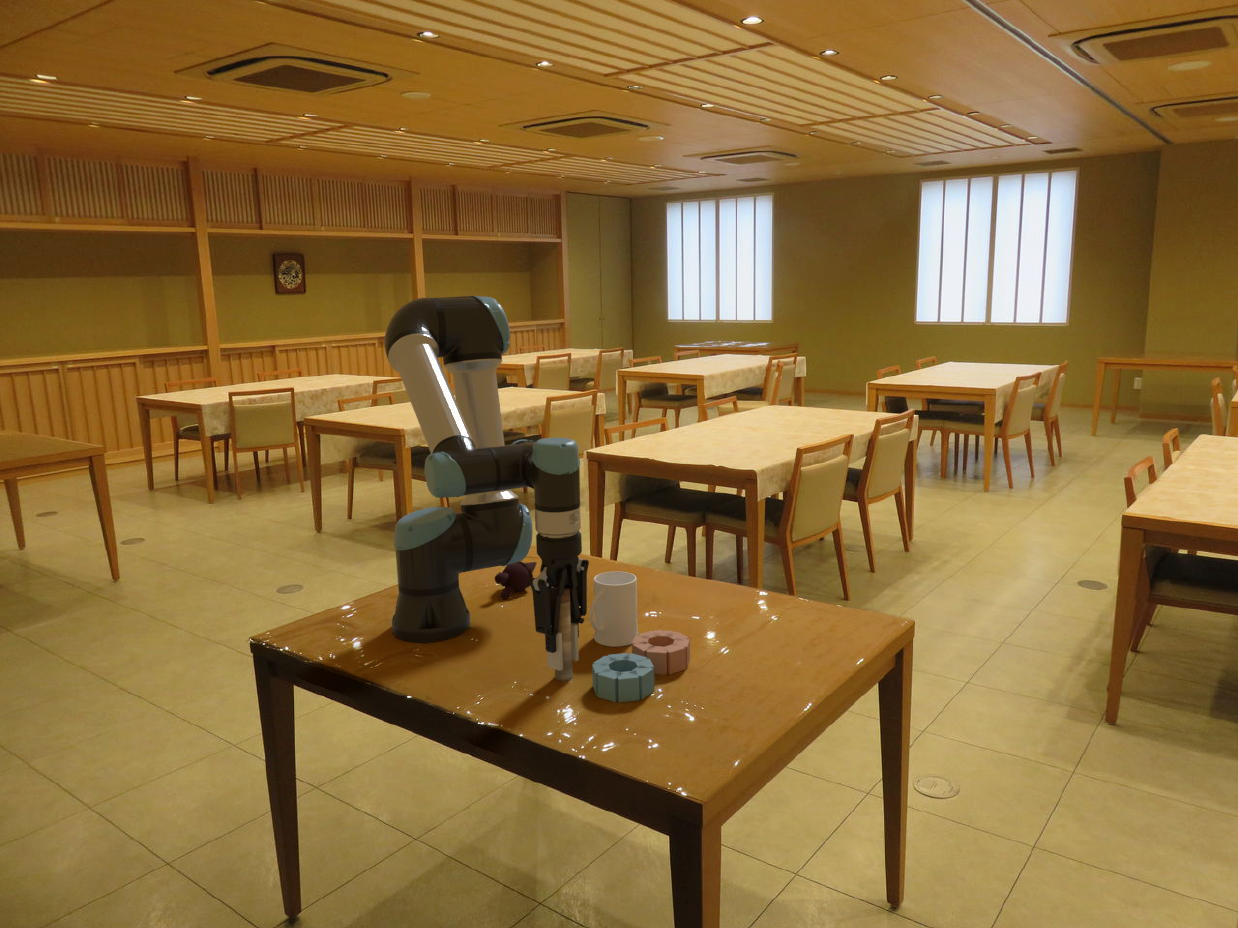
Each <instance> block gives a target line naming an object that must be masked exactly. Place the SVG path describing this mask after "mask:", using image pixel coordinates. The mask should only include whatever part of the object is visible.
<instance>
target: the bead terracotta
mask: <svg viewBox="0 0 1238 928" xmlns="http://www.w3.org/2000/svg"><path fill="white" fill-rule="evenodd" d="M690 640H691V639H690V638H689V637H688V636H686V635H685V634H682V633H680V632H679V631H676V632H675V631H674V630H661V629H660V630H659V629H656V630H653V629H652V630H649V631H645V632H641V633H638V635H637V636H635V638H634V640H633V642H632V644H631V653H632V654H636V655H640V656H644V657H647V659H650V661H651V662H652V664H653V666H654V675H663V676H666V675H667V674H668V675H673V674H676V673H679V672H682V671H685V670H686V669H688V667H689V664H690V661H691V657H690V656H691V650H690V649H691V645H690V644H691V641H690Z"/></svg>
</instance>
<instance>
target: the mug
mask: <svg viewBox="0 0 1238 928" xmlns="http://www.w3.org/2000/svg"><path fill="white" fill-rule="evenodd" d="M637 580H638V579H637V576H636V575H635V574H633V573H631V572H626V571H616V570H615V571H606V572H601V573H598V574H597V575H595V576H594V577H593V599H592V602H591V604H590V608H589V623H590V625H591V627H592V628H593V629H594V635H593V639H594V641H595V643H597V644H599V645H601V646H605V647H613V648H619V647H626V646H630V645H632V642H633V640H634V638H635V636H637V635H638V634H639V628H638V591H637V590H638V588H637V586H638V585H637V583H638V581H637Z"/></svg>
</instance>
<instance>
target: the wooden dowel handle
mask: <svg viewBox="0 0 1238 928" xmlns="http://www.w3.org/2000/svg"><path fill="white" fill-rule="evenodd" d="M558 632H560V633H562V655H563V669H562V670H561V671H559V670H556V669H554V679H555V681H558V682H567V681H571V680H572V679H574V678H573V660H572V644H571V613H570V588H569V587H565V586H564V593H563V594H562V595H561V604H560V616H559V628H558Z"/></svg>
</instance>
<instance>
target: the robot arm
mask: <svg viewBox="0 0 1238 928" xmlns="http://www.w3.org/2000/svg"><path fill="white" fill-rule="evenodd" d="M510 339H511V330H510V326H509V321H508V317H507V315H506V313H505V311H504V308H503V306H502V305H501V304H500V303H499V302H498V301H497V300H496V299H495V298H493V297H490V296H482V295H481V296H477V295H466V296H447V297H420V298H416V299H412V300H411V301H409V302H406V303H404V305H402V306H401V307H399V309H398V310H396V312H395V313H394V314H393V316H392V317H391V319H390V321H389V323H388V325H387V327H386V330H385V333H384V351H385V355H386V358H387V360H388V364H389V365H390V367H391V368H392V369H393V371H396V372H397V373H399V376H400V379H401V381H402V384H403V386H404V389H405V391H406V393H407V396H408V400H409V401H410V404H411V406H412V408H413V411H414V414H415V417H416V418H417V422H418V424H419V427H420V429H421V431H422V434H423V437H424V440H425V441H426V444H427V447H428V449H429V452H430V454H428V455H427V456H426V459H425V460H424V477H425V480H426V485H427V486H426V487H427V489H428V491H429V493H430V495H432V496H433V497H435V498H438V499H439V498H441V499H443V498H459V497H462V496H463V499H462V500H461V502H460V512H459V513H456V512H455V510H454V509H453V508H452V507H448V506H438V507H435V506H433V507H427V508H422V509H418V510H415V511H413V512H409V513H408V514H405V515H404V516H402V517H401V518H400V519H398V521H397V522H396V523H395V526H394V543H393V546H394V548H395V560H396V561H395V562H396V573H397V584H398V585H397V586H398V587H397V588H398V595H397V599H396V600H397V601H396V605H395V610H394V615H393V616H392V619H391V628H392V629H391V630H392V631H391V632H392V634H393V636H395V637H396V638H398V639H400V640H402V641H404V642H405V641H406V642H411V643H431V642H441V641H445V640H449V639H453V638H455V637H458V636H460V635H462V634H463V633H465V632H466V631H467V630H469V628H470V626H471V613H470V610H469V609H468V607H467V605H466V601H465V598H464V595H463V594H462V591H461V589H460V582H459V581H460V578H459V574H461V573H466V572H472V571H473V572H474V571H478V570H483V569H485V570H486V569H490V568H495V567H506V566H507V565H508V564H512V563H516V562H523V560H524V559H526V557H528V554H529V552H530V549H531V546H532V542H533V535H534V534H533V532H534V531H533V521H532V520H533V519H532V516H530V515H531V514H530V510H529V508H528V507H527V506H526V505H525V504H522V503H520V499H519V495H517V494H516V493H515V492H514V491H512V490H516V489H521V488H531V489H533V491H534V493H533V494H534V523H535V524H534V525H535V528H534V529H535V530H536V532H537V534H536V536H535V538H536V540H535V543H536V554H537V556H538V557H539V559H540V560H541V564H540V568H539V569H540V570H539V574H538V575H537V576H536V577H534V576H533V577H532V578H531V579H530V581H529V583H530V586H529V587H530V588H531V592H532V600H533V602H532V603H533V613H534V627H535V632H536V633H539V634H542V635H543V634H544V641H545V651H546V655H547V656H546V657H547V658H546V659H547V668H550V669H553V670H555V669H556V670H559V671H561V670H562V669H563V655H562V633H560V632H558V628H559V616H560V604H561V595H562V594H563V593H564V586H565V587H569V588H570V613H571V644H572V662H573V661H574V662H578V661H579V660H580V656H579V639H580V638H579V637H580V629H579V628H580V627H579V626H580V625H579V624H581V625H582V624H584V622H585V618H583V617H585V616H586V615H587V612H588V609H587V607H588V601H587V599H588V578H587V577H588V569H589V564H590V561H589V560H588V559H585V558H584V559H582V558H579V556H580V555H581V554H582V551H583V550H582V548H583V547H582V546H583V544H582V532H580V531H579V530H581V529H582V528H581V527H582V524H581V522H582V521H581V520H582V518H581V483H580V481H581V477H580V473H581V471H580V470H581V469H580V468H581V467H580V466H581V460H580V456H579V446H578V443H577V441H576V440H574V439H571V438H566V437H545V438H540V439H538V440H536V441H535V440H533V439H518V440H515V441H513V442H512V443H510V444H509V445H505V437H504V431H503V430H504V429H503V420H502V414H501V413H502V411H501V405H500V404H501V403H500V395H499V387H498V379H497V378H498V377H497V369H498V368H499V366H500V365H501V364H502V363H503V356H502V355H503V354H505V353H507V352H508V350H509V348H510V344H511V342H510ZM439 358H442V362H443V367H442V365H441V363H440V359H439ZM443 368H444V369H445V370H446V371H448V372H449V373H450V374H451V375H452V381H453V387H454V388H453V389H454V390H453V391H454V393H453V391H452V388H451V386H450V383H449V381H448V379H447V376H446V373H444V370H443ZM464 496H465V497H464Z"/></svg>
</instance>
